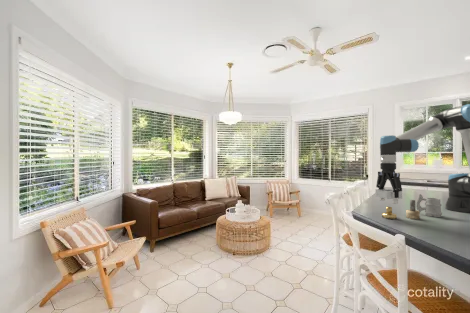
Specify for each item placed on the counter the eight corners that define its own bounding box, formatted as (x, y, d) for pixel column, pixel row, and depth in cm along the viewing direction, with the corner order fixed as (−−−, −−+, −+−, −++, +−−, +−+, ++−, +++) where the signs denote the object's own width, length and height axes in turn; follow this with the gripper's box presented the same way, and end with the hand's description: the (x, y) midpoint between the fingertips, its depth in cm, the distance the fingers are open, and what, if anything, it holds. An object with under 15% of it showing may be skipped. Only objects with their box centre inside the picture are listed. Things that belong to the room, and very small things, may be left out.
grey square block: (389, 195, 137) (389, 189, 137) (402, 198, 128) (402, 191, 128) (375, 196, 136) (375, 189, 136) (387, 198, 127) (387, 191, 127)
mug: (441, 218, 129) (441, 196, 129) (415, 214, 137) (414, 194, 137) (442, 215, 134) (442, 194, 134) (417, 212, 143) (416, 192, 142)
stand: (413, 216, 134) (412, 199, 133) (422, 219, 128) (422, 201, 128) (403, 216, 133) (403, 199, 133) (412, 219, 127) (412, 201, 127)
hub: (390, 215, 136) (390, 205, 136) (399, 218, 129) (399, 208, 129) (379, 216, 135) (378, 206, 135) (388, 219, 128) (388, 208, 128)
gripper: (369, 162, 142) (369, 198, 142) (397, 163, 121) (397, 206, 121) (380, 162, 143) (380, 198, 143) (410, 163, 122) (410, 205, 122)
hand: (388, 201), depth 132 cm, fingers closed on grey square block, 9 cm apart
